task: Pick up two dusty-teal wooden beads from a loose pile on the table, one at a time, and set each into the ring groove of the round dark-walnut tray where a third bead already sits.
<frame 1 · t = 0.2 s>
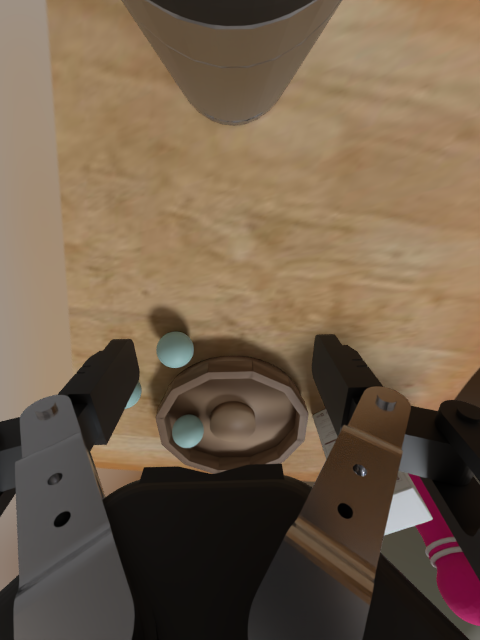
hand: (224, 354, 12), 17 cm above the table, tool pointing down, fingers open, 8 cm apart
bead a: (175, 349, 30), point 2 cm above the table
bead c: (188, 430, 35), point 3 cm above the table, touching tray
bead b: (123, 391, 33), point 2 cm above the table
supplement box: (344, 417, 39), on the table
pepper mill: (393, 451, 43), on the table
tray: (232, 411, 38), on the table
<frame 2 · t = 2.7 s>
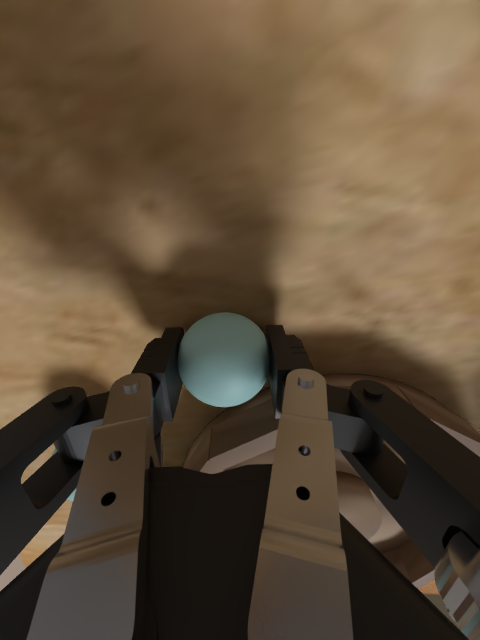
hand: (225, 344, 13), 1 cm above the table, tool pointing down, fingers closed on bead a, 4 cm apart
bead a: (224, 358, 12), point 2 cm above the table, touching gripper
tray: (320, 485, 19), on the table
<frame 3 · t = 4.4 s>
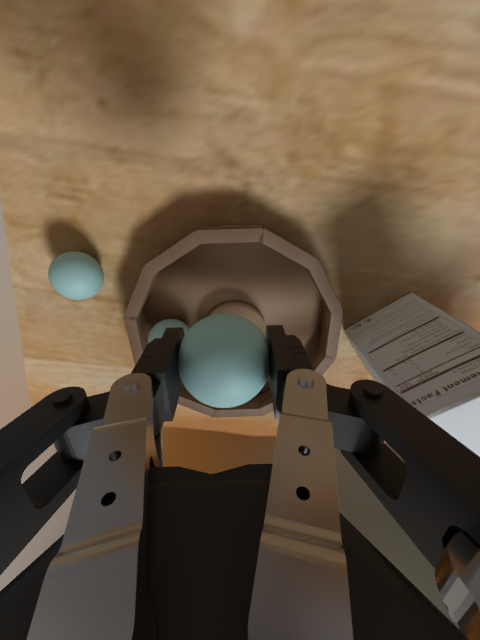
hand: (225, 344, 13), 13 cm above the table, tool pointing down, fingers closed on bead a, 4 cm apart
bead a: (224, 359, 12), point 15 cm above the table, touching gripper
bead c: (171, 340, 25), point 3 cm above the table, touching tray
bead b: (77, 275, 23), point 2 cm above the table
supplement box: (388, 334, 28), on the table
tray: (234, 323, 27), on the table
when the fingers open (4 cm above the table, at t = 6.5 s): bead a drops 2 cm, resting on tray.
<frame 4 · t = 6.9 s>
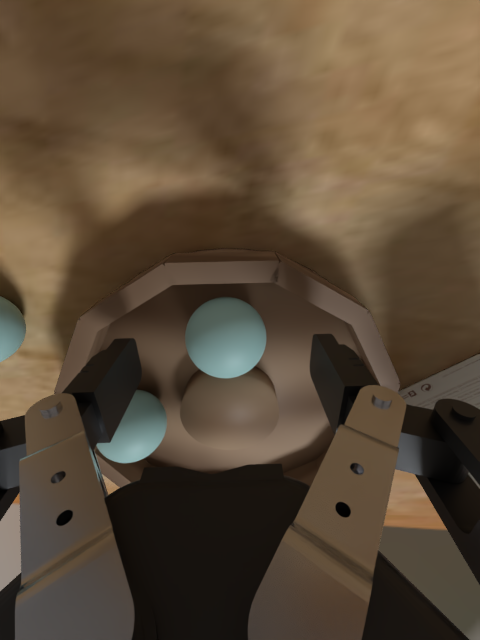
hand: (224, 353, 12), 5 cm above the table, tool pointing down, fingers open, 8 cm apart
bead a: (226, 337, 14), point 3 cm above the table, touching tray
bead c: (131, 424, 16), point 3 cm above the table, touching tray
supplement box: (450, 401, 20), on the table
tray: (230, 388, 19), on the table
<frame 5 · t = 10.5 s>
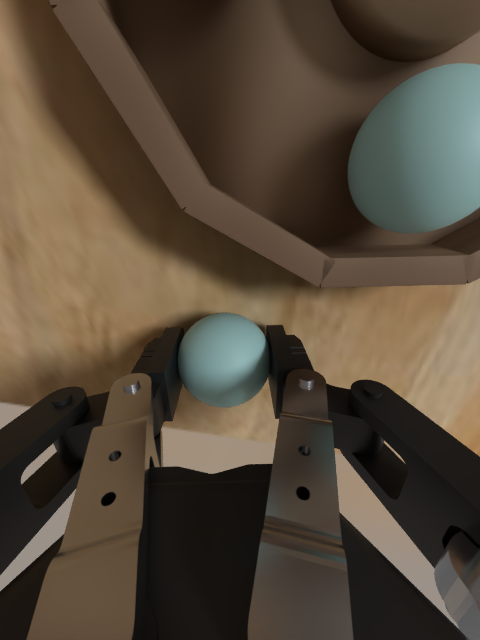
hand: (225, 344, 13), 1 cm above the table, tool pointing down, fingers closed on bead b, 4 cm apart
bead c: (423, 159, 8), point 3 cm above the table, touching tray
bead b: (224, 358, 12), point 2 cm above the table, touching gripper
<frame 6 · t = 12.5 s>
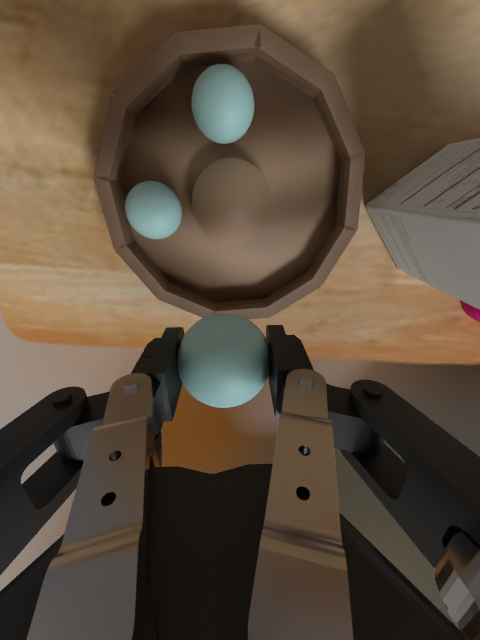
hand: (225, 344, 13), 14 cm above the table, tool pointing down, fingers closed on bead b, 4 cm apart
bead a: (223, 106, 17), point 3 cm above the table, touching tray
bead c: (154, 211, 20), point 3 cm above the table, touching tray
bead b: (224, 359, 12), point 15 cm above the table, touching gripper
supplement box: (418, 211, 24), on the table
tray: (232, 202, 23), on the table
when the fingers open (4 cm above the table, at t = 14.8 s): bead b drops 2 cm, resting on tray.
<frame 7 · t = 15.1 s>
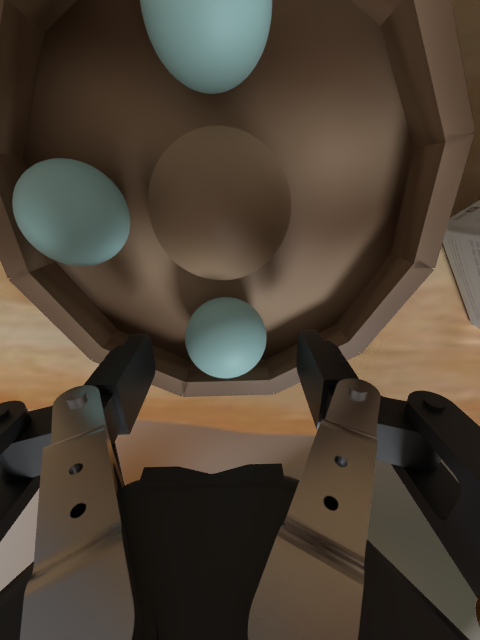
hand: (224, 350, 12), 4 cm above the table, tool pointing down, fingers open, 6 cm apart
bead a: (207, 10, 8), point 3 cm above the table, tilted 5°, touching tray
bead c: (76, 215, 11), point 3 cm above the table, touching tray
bead b: (226, 337, 14), point 3 cm above the table, touching tray
tray: (222, 207, 14), on the table
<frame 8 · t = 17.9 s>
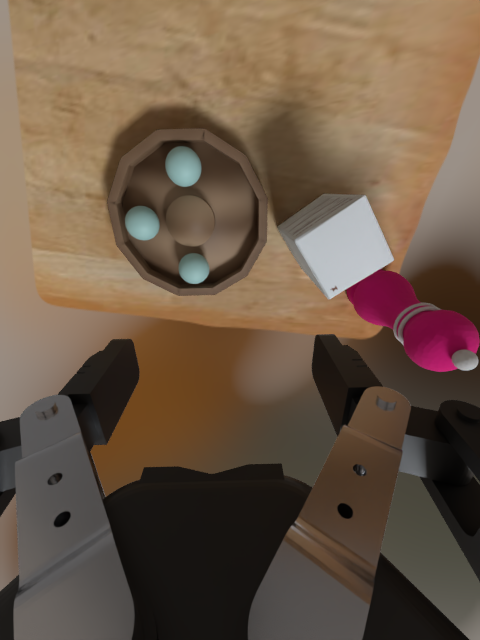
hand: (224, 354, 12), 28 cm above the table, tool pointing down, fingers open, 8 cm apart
bead a: (183, 167, 31), point 3 cm above the table, tilted 7°, touching tray
bead c: (142, 223, 33), point 3 cm above the table, touching tray
bead b: (194, 268, 36), point 3 cm above the table, touching tray
supplement box: (311, 232, 37), on the table
pepper mill: (366, 286, 41), on the table
tray: (193, 219, 36), on the table
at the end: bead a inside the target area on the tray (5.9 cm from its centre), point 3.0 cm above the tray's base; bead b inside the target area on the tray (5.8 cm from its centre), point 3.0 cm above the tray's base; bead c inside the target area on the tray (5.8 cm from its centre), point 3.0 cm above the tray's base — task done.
